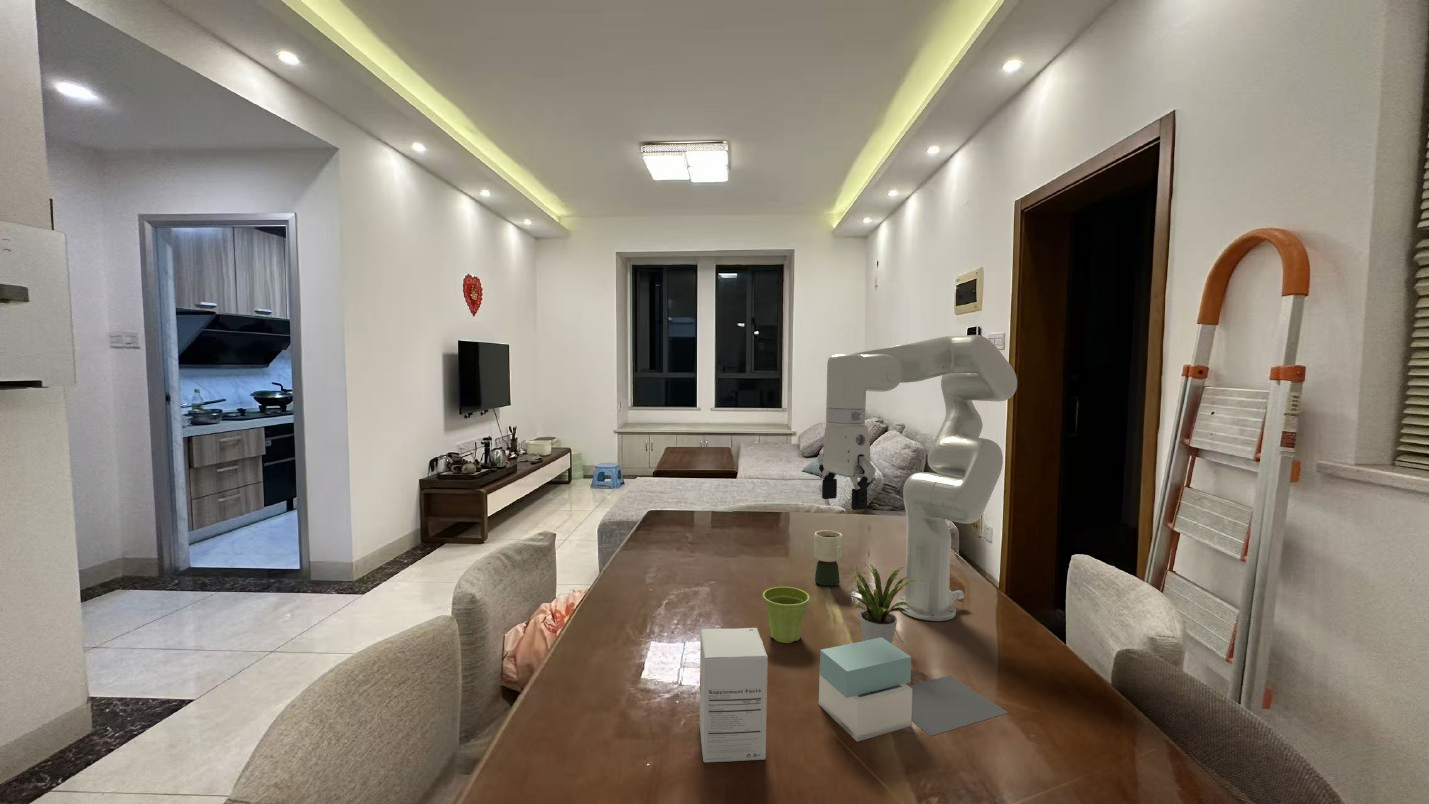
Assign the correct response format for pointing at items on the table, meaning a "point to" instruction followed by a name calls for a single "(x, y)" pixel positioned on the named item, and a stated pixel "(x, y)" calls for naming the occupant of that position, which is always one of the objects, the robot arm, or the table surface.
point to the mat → (949, 705)
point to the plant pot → (785, 612)
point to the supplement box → (733, 695)
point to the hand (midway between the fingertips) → (843, 503)
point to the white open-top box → (868, 709)
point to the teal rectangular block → (865, 666)
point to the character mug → (827, 556)
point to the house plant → (879, 606)
